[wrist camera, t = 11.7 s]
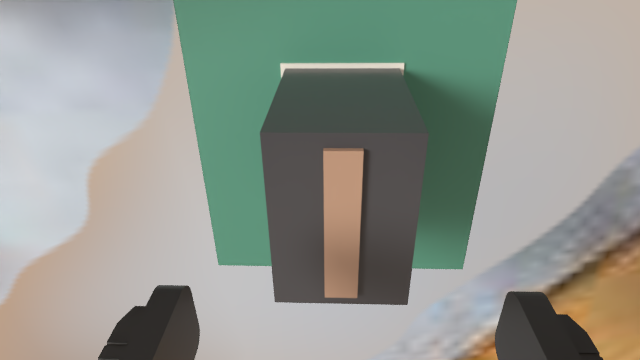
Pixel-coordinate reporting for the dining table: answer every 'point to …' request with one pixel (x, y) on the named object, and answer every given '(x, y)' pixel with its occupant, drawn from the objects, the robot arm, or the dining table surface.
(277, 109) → the block
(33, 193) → the dining table surface
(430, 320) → the dining table surface
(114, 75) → the dining table surface
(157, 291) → the robot arm
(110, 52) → the dining table surface
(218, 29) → the header board
